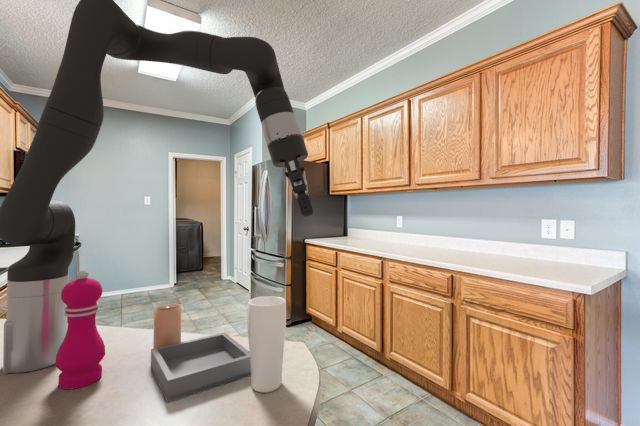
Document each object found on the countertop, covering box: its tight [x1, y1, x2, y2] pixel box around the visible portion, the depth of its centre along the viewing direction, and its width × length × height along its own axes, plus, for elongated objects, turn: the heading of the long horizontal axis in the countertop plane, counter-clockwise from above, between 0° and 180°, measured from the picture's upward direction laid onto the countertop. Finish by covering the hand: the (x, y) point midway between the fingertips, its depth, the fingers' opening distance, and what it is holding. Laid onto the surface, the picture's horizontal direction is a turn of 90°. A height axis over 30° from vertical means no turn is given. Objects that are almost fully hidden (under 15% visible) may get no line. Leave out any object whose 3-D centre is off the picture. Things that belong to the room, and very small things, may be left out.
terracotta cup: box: [152, 303, 182, 349], centre depth 68 cm, size 5×5×10 cm
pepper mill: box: [54, 269, 106, 390], centre depth 57 cm, size 7×7×20 cm
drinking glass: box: [247, 295, 287, 394], centre depth 55 cm, size 7×7×15 cm
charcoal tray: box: [150, 332, 251, 403], centre depth 60 cm, size 15×15×4 cm
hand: (308, 215), depth 64 cm, fingers open, 8 cm apart
